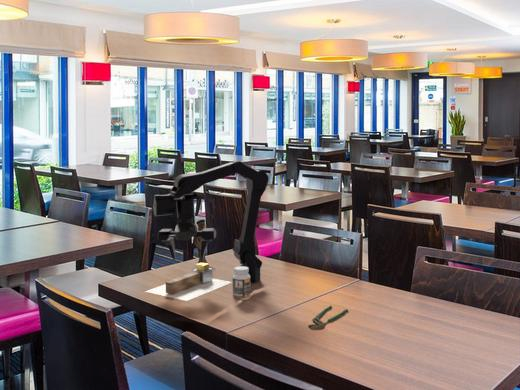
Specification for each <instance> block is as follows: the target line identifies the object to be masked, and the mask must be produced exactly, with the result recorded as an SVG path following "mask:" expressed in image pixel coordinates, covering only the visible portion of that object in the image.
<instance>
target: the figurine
mask: <svg viewBox="0 0 520 390" xmlns="http://www.w3.org/2000/svg"><path fill="white" fill-rule="evenodd" d="M195 224H196V226H197V231H203V229H204V228H206V227H205V226H206V220H205V219H203V218H202V219H199V220H197V221H195ZM202 239H203V238H202V237H192V245H193V247H194V248H195V249H197V250H198V262H197V264H198V263H207V264H209V263H208V261H207V259H206V252H205V253H204V257H203V260H201V241H202ZM209 244H210V242H208V244H207V246H208V245H209Z"/></svg>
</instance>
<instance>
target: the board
mask: <svg viewBox="0 0 520 390" xmlns="http://www.w3.org/2000/svg"><path fill="white" fill-rule="evenodd" d="M230 284H233V281H227V280H223V279H222V280H221V279H219V278H218V279H217V278H213V277H212V281H211V282H209V283H206V284H197V285H195V286H192V287H189V288H187V289H184V290H181V291H179V292H176V293H173V294H168V293H166V283H164V284H162V285H159V286H156V287H154V288H151V289H148V290H146V291H144V293H147V294H154V295H158V296H162V297H167V298H171V299H175V300H180V301H184V302H185V301H186V302H188V301H190V300H192V299H195V298H198V297H200V296H202V295H205V294H208V293H211V292H213V291H214V290H217V289H220V288H222V287H224V286H227V285H230Z"/></svg>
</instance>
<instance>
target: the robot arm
mask: <svg viewBox="0 0 520 390" xmlns="http://www.w3.org/2000/svg"><path fill="white" fill-rule="evenodd" d="M236 174H237V175H239V176H240V177H242V178H244V179H245V180H246V184H245V185H246V191H247V196H246V197H247V199H246V204H245V210H244V216H243V222H242V228H241V234H240V237H239V238H238V239H236V238H234V241H233V248H232V251H233V255H234V257H235V258H236V259H237V260H238V261H239V264H241V265H240V266H245V267H248V268H249V272H248V274H249V275H250V277H251V284H257V283H259V282H261V268H262V265H263V262H262V260H260V259H259V258H258V257H257V256H256V255H257V251H256V250H257V249H256V242H255V235H256V229H257V222H258V217H259V210H260V205H261V199H262V196H263V194H264V193H265V191H266V189H267V186H268V184H269V180H270V179H269V175H268V174H267V173H266V172H265V171H264V170H262V169H257V168H252V167H250V166H248V165H246V164H244V163H243V162H242V161H239V160H232V161H230V162H228V163H224V164H222V165H219V166H215V167H212V168H210V169H206V170H204V171H201V172H191V173H183V174H179V175H177V176H176V177H175V179H174V181H173V186H172V188H171V189H170V190H169V192H168V194H154V196H153V204H152V209H153V215H154V217H161V216H170V215H171V216H172V215H174V213H175V212H176V218H177V219H176V224H175V229H174V230H173V229H172V228H162V229H161V230H159V231H158V232H157V233H156V235H157V236H156V237H157V241H161V243H163V244H165V245H166V246H167V247H168V248H167V249H168V250H169V253H170V255H171V258H172V259H173V261H175V260H176V247H175V240H176V241H189V240H191V238H194V237H202V238H203V239H202V241H201V260H203V257H204V253H205V254H206V249H207V247H208V245H209V244H208V242H209V243H211V241H212V240H215V239H216V237H217V229H215V227H209V228H208V227H204V229H203V231H198V225H197V224H196V214H195V213H196V211H195V200H200V199H201V197H200V195H198V194H197V192H196V191H197V190H198V189H200V188H201V187H202V186H204V185H206V184H209V183H212V182H215V181H219V180H221V179H223V178H226V177H230V176H232V175H236ZM207 244H208V245H207Z"/></svg>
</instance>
